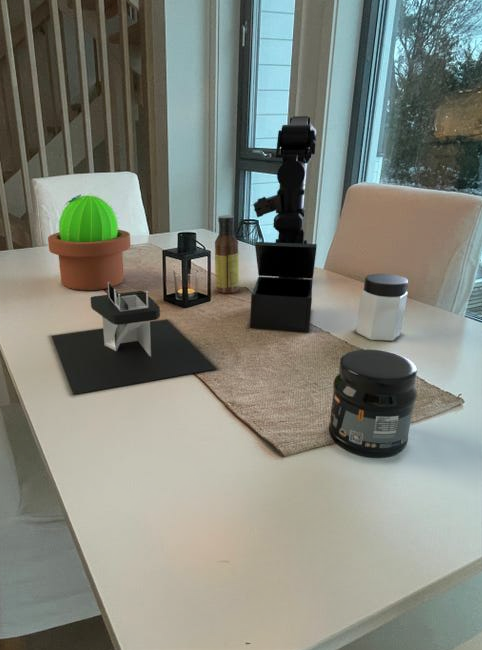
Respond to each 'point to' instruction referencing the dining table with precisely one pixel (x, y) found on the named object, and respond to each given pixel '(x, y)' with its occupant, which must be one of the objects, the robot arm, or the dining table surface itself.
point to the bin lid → (285, 259)
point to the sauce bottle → (226, 257)
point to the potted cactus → (89, 245)
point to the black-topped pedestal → (126, 346)
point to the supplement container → (373, 403)
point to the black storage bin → (281, 304)
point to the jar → (382, 307)
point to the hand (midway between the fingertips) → (287, 251)
